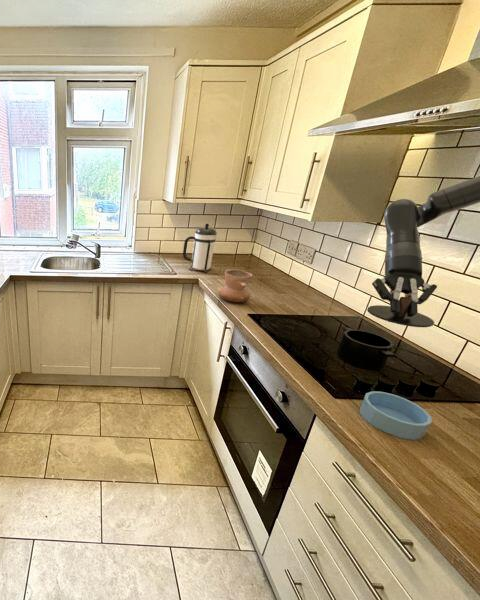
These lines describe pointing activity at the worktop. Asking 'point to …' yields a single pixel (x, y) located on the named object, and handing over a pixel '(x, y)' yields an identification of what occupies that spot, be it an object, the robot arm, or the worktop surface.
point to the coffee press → (201, 248)
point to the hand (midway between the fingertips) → (403, 314)
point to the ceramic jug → (235, 286)
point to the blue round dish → (395, 415)
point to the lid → (401, 315)
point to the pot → (364, 349)
